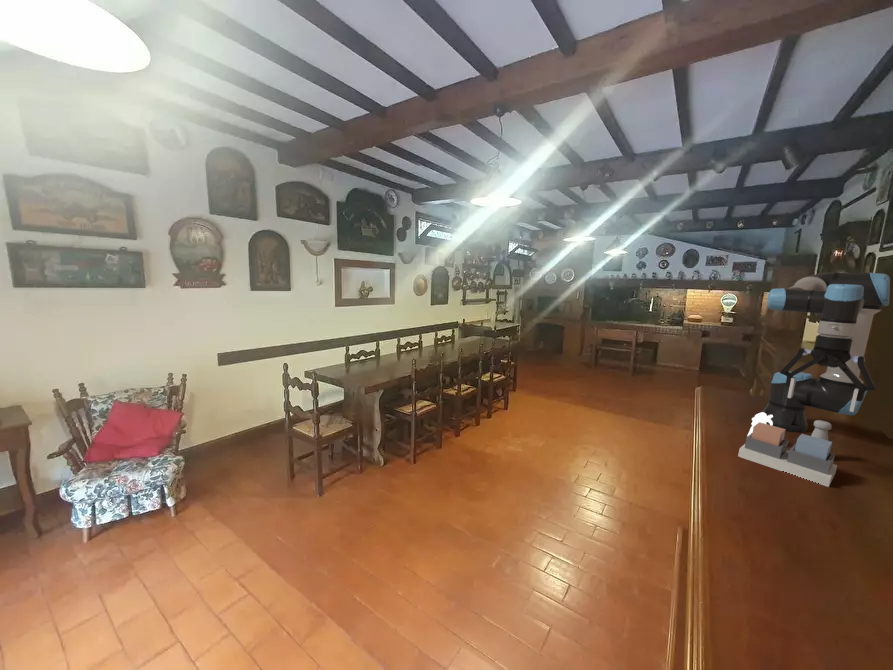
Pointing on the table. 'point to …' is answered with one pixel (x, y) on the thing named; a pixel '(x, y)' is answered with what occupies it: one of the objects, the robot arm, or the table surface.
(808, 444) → the slate blue key
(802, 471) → the key housing
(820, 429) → the salt shaker
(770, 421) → the figurine
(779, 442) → the terracotta key
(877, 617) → the table surface
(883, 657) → the table surface
